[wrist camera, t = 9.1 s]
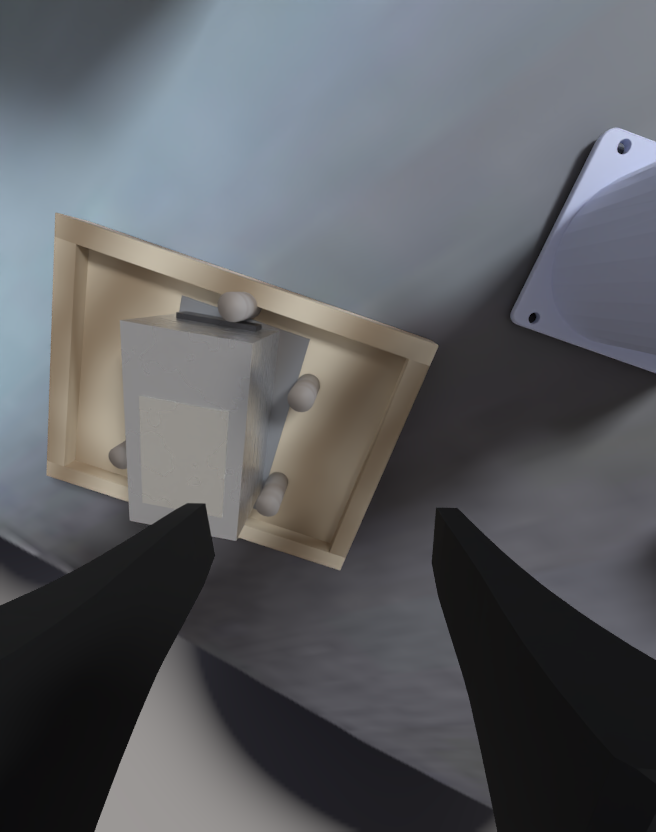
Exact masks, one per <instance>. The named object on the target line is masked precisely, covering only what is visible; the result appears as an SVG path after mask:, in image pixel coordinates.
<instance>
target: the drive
mask: <svg viewBox="0 0 656 832" xmlns="http://www.w3.org/2000/svg"><path fill="white" fill-rule="evenodd" d="M120 335H121V356H122V376H123V396H124V416H125V436H126V456H127V477H128V497H129V517H130V521H134V522H139V523H144V524H149V525H152V524H153V523H155V522H156V521H158V520H160V519H161V518H163V517H164V516H166V515H168V514H169V513H171V512H172V511H174V510H176V509H177V508H179V507H181V506H183V505H185V504H187V503H205V504H206V509H207V515H208V520H209V526H210V531H211V536H212V537H217V538H223V539H228V540H233V541H237V539H238V537H239V535H240V533H241V531H242V529H243V527H244V525H245V523H246V521H247V519H248V516H249V514H250V512H251V510H252V508H253V506H254V504H255V502H256V500H257V498H258V496H259V494H260V492H261V490H262V488H263V478H264V469H265V460H266V451H267V441H268V432H269V423H270V414H271V404H272V395H273V386H274V377H275V367H276V358H277V349H278V340H279V330H273V329H267V328H262V324H258V323H252V322H247V321H238V322H229V321H226V320H225V319H224V318H222V317H218V316H212V315H206V314H201V313H195V312H189V311H183V312H176V314H168V315H160V316H151V317H142V318H134V319H125V320H120Z"/></svg>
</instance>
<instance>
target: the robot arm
mask: <svg viewBox="0 0 656 832" xmlns="http://www.w3.org/2000/svg"><path fill="white" fill-rule="evenodd" d="M619 143H622V144H623V145H624V148H625V149H624V152H623V154H619V153H618V151H617V146H618V144H619ZM532 313H535V314H536V320H535V321H534V322H532V323H530V322H529V320H528V318H529V316H530V315H531V314H532ZM510 317H511V320H512V322H513V323H515V324H516V325H519V326H522V327H525V328H528V329H531V330H533V331H536V332H539V333H542V334H545V335H548V336H551V337H553V338H556V339H559V340H562V341H565V342H568V343H571V344H573V345H576V346H579V347H582V348H585V349H588V350H590V351H593V352H596V353H599V354H602V355H605V356H608V357H610V358H613V359H616V360H619V361H622V362H625V363H627V364H630V365H633V366H636V367H639V368H642V369H645V370H647V371H650V372H653V373H656V142H655V141H653V140H650V139H647V138H645V137H642V136H639V135H636V134H634V133H631V132H628V131H626V130H623V129H620V128H612V129H609V130H607V131H606V132H604V133H603V134H602V135H600V136H599V138H598V139H597V140H596V142H595V144H594V146H593V148H592V150H591V152H590V154H589V156H588V158H587V160H586V162H585V164H584V166H583V168H582V170H581V172H580V174H579V176H578V178H577V180H576V182H575V184H574V186H573V188H572V190H571V192H570V194H569V196H568V198H567V200H566V202H565V204H564V206H563V208H562V210H561V212H560V214H559V216H558V218H557V220H556V222H555V224H554V226H553V228H552V230H551V232H550V234H549V236H548V238H547V240H546V242H545V245H544V247H543V249H542V251H541V253H540V255H539V257H538V259H537V261H536V263H535V265H534V267H533V269H532V271H531V273H530V275H529V277H528V279H527V281H526V283H525V285H524V287H523V289H522V291H521V293H520V295H519V297H518V299H517V301H516V303H515V305H514V307H513V309H512V311H511V314H510ZM214 556H215V553H214V548H213V542H212V537H211V531H210V526H209V520H208V515H207V509H206V504H205V503H187V504H185V505H183V506H181V507H179V508H177V509H176V510H174V511H172V512H171V513H169V514H168V515H166V516H164V517H163V518H161V519H160V520H158V521H156V522H155V523H153V524H152V525H150V526H149V527H147V528H145V529H144V530H142V531H141V532H139V533H137V534H136V535H134V536H133V537H131V538H130V539H128V540H126V541H125V542H123V543H121V544H120V545H118V546H116V547H115V548H113V549H111V550H109V551H108V552H106V553H104V554H103V555H101V556H99V557H98V558H96V559H94V560H92V561H91V562H89V563H87V564H85V565H83V566H82V567H80V568H78V569H76V570H74V571H72V572H70V573H69V574H67V575H65V576H63V577H61V578H59V579H57V580H55V581H53V582H51V583H49V584H47V585H45V586H43V587H41V588H38V589H36V590H34V591H32V592H30V593H28V594H25V595H23V596H21V597H18V598H16V599H14V600H12V601H10V602H7V603H5V604H3V605H0V832H94V831H95V828H96V825H97V823H98V820H99V817H100V815H101V812H102V809H103V807H104V804H105V801H106V799H107V796H108V793H109V791H110V788H111V785H112V783H113V780H114V777H115V775H116V772H117V769H118V767H119V764H120V761H121V759H122V757H123V754H124V751H125V749H126V747H127V744H128V742H129V739H130V736H131V734H132V732H133V729H134V726H135V724H136V722H137V719H138V717H139V715H140V712H141V710H142V708H143V705H144V702H145V701H146V698H147V696H148V694H149V691H150V689H151V686H152V684H153V682H154V680H155V677H156V675H157V673H158V671H159V669H160V667H161V665H162V663H163V661H164V659H165V657H166V655H167V653H168V651H169V649H170V648H171V646H172V644H173V642H174V640H175V638H176V637H177V635H178V633H179V631H180V629H181V627H182V625H183V624H184V622H185V620H186V618H187V616H188V614H189V612H190V610H191V609H192V607H193V605H194V603H195V601H196V599H197V597H198V595H199V593H200V591H201V589H202V587H203V585H204V583H205V580H206V578H207V575H208V573H209V570H210V567H211V565H212V562H213V559H214ZM432 566H433V572H434V577H435V583H436V588H437V593H438V597H439V600H440V604H441V607H442V610H443V614H444V617H445V620H446V623H447V627H448V630H449V633H450V636H451V639H452V642H453V646H454V649H455V652H456V655H457V658H458V662H459V665H460V668H461V671H462V674H463V678H464V681H465V685H466V688H467V692H468V696H469V700H470V704H471V709H472V713H473V718H474V722H475V727H476V731H477V736H478V740H479V745H480V749H481V754H482V759H483V764H484V768H485V773H486V778H487V783H488V787H489V792H490V797H491V802H492V807H493V812H494V817H495V822H496V827H497V832H656V660H655V659H653V658H651V657H650V656H648V655H646V654H644V653H643V652H641V651H639V650H638V649H636V648H634V647H633V646H631V645H629V644H628V643H626V642H625V641H623V640H622V639H620V638H618V637H617V636H615V635H614V634H612V633H610V632H609V631H607V630H606V629H604V628H603V627H601V626H599V625H598V624H596V623H595V622H593V621H592V620H590V619H589V618H587V617H586V616H584V615H583V614H582V613H580V612H579V611H577V610H576V609H574V608H573V607H572V606H570V605H569V604H568V603H566V602H565V601H563V600H562V599H561V598H559V597H558V596H556V595H555V594H554V593H552V592H551V591H550V590H548V589H547V588H546V587H544V586H543V585H542V584H541V583H539V582H538V581H537V580H536V579H534V578H533V577H532V576H531V575H529V574H528V573H527V572H526V571H525V570H523V569H522V568H521V567H520V566H519V565H517V564H516V563H515V562H514V561H513V560H512V559H510V558H509V557H508V556H507V555H506V554H505V553H504V552H503V551H501V550H500V549H499V548H498V547H497V546H496V545H495V544H494V543H493V542H492V541H491V540H490V539H489V538H487V537H486V536H485V535H484V534H483V533H482V532H481V531H480V530H479V529H478V528H477V527H476V526H475V525H474V524H473V523H472V522H471V521H470V520H469V519H468V518H467V517H466V516H465V515H464V514H463V513H462V512H461V511H460V510H459V509H458V508H436V517H435V529H434V542H433V554H432Z"/></svg>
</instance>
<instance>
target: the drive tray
mask: <svg viewBox="0 0 656 832" xmlns="http://www.w3.org/2000/svg"><path fill="white" fill-rule="evenodd" d="M183 311H189V312H195V313H201V314H206V315H212V316H218V317H222V318H224V319H225V320H226V321H229V322H238V321H247V322H252V323H258V324H262V328H267V329H273V330H279V340H278V349H277V358H276V367H275V377H274V386H273V395H272V404H271V414H270V423H269V432H268V441H267V451H266V460H265V469H264V478H263V488H262V490H261V492H260V494H259V496H258V498H257V500H256V502H255V504H254V506H253V508H252V510H251V512H250V514H249V516H248V519H247V521H246V523H245V525H244V527H243V529H242V531H241V533H240V535H239V537H238V538H241V539H245V540H248V541H251V542H254V543H257V544H260V545H263V546H266V547H269V548H272V549H275V550H278V551H282V552H285V553H288V554H291V555H294V556H297V557H300V558H303V559H306V560H309V561H312V562H315V563H318V564H322V565H325V566H328V567H331V568H334V569H337V570H340V569H341V567H342V565H343V563H344V560H345V558H346V556H347V553H348V551H349V549H350V547H351V544H352V542H353V540H354V538H355V535H356V533H357V531H358V528H359V526H360V524H361V522H362V519H363V517H364V515H365V513H366V510H367V508H368V506H369V503H370V501H371V499H372V497H373V494H374V492H375V490H376V488H377V485H378V483H379V481H380V478H381V476H382V474H383V472H384V469H385V467H386V465H387V462H388V460H389V458H390V456H391V453H392V451H393V449H394V447H395V444H396V442H397V440H398V437H399V435H400V433H401V431H402V428H403V426H404V424H405V422H406V419H407V417H408V415H409V412H410V410H411V408H412V406H413V403H414V401H415V399H416V396H417V394H418V392H419V390H420V387H421V385H422V383H423V381H424V378H425V376H426V374H427V371H428V369H429V367H430V365H431V362H432V360H433V358H434V356H435V353H436V351H437V349H438V346H439V345H437V344H436V343H434V342H433V341H431V340H429V339H427V338H424V337H421V336H418V335H415V334H412V333H409V332H406V331H403V330H401V329H398V328H395V327H392V326H389V325H386V324H383V323H380V322H378V321H375V320H372V319H369V318H366V317H363V316H360V315H357V314H355V313H352V312H349V311H346V310H343V309H340V308H337V307H334V306H331V305H329V304H326V303H323V302H320V301H317V300H314V299H311V298H308V297H306V296H303V295H300V294H297V293H294V292H291V291H288V290H285V289H283V288H280V287H277V286H274V285H271V284H268V283H265V282H262V281H259V280H257V279H254V278H251V277H248V276H245V275H242V274H239V273H236V272H234V271H231V270H228V269H225V268H222V267H219V266H216V265H213V264H211V263H208V262H205V261H202V260H199V259H196V258H193V257H190V256H187V255H185V254H182V253H179V252H176V251H173V250H170V249H167V248H164V247H162V246H159V245H156V244H153V243H150V242H147V241H144V240H141V239H139V238H136V237H133V236H130V235H127V234H124V233H121V232H118V231H115V230H113V229H110V228H107V227H104V226H101V225H98V224H95V223H92V222H90V221H86V220H82V219H78V218H75V217H71V216H67V215H63V214H59V213H55V240H54V270H53V300H52V329H51V359H50V389H49V419H48V449H47V476H50V477H53V478H56V479H60V480H63V481H66V482H69V483H72V484H75V485H78V486H81V487H84V488H87V489H90V490H93V491H97V492H100V493H103V494H106V495H109V496H112V497H115V498H118V499H121V500H124V501H127V502H129V497H128V477H127V456H126V436H125V416H124V396H123V376H122V356H121V335H120V320H125V319H134V318H142V317H151V316H160V315H168V314H176V312H183Z"/></svg>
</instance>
